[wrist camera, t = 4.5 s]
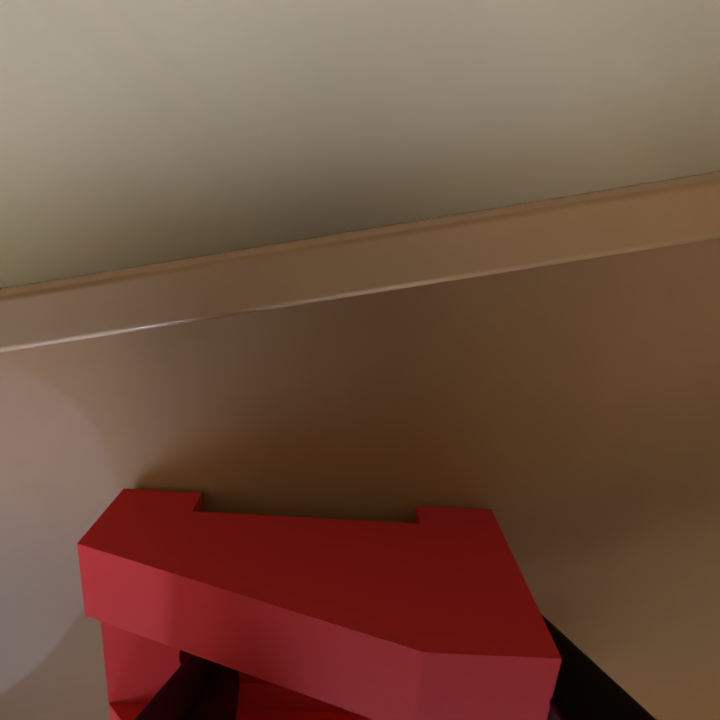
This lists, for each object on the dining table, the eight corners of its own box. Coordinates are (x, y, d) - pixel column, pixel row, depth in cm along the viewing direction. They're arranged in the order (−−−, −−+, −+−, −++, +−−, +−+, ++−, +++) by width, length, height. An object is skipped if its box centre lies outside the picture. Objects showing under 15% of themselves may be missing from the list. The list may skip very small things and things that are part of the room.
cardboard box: (1023, 121, 7) (1421, 63, 5) (889, 753, 11) (1064, 927, 8) (-364, 347, 8) (-729, 413, 5) (-50, 867, 12) (-170, 1062, 9)
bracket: (491, 509, 8) (561, 658, 6) (456, 712, 10) (497, 916, 7) (123, 488, 8) (1, 633, 5) (139, 699, 10) (48, 904, 7)
